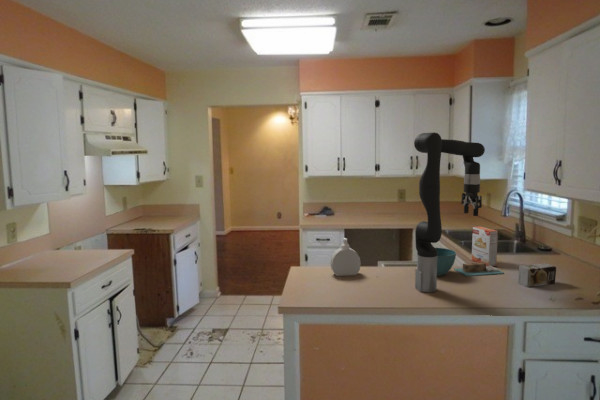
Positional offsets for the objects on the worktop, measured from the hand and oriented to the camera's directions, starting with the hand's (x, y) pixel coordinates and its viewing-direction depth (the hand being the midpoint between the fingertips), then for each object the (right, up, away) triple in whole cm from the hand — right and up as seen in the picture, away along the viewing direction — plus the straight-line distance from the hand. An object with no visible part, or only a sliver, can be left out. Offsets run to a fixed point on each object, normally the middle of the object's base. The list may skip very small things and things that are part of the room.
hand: (470, 214), depth 202 cm
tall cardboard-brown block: (+12, -32, +16) cm, 37 cm away
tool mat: (+11, -32, +16) cm, 38 cm away
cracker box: (+21, -30, +32) cm, 48 cm away
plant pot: (-12, -33, +15) cm, 38 cm away
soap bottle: (-62, -34, +16) cm, 73 cm away
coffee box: (+23, -30, -7) cm, 39 cm away
